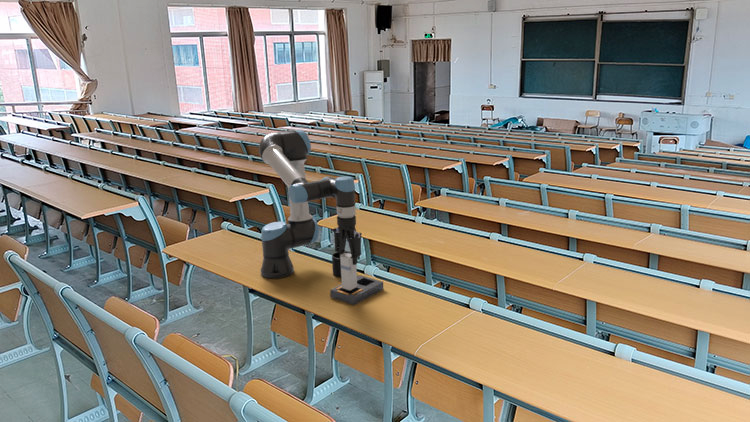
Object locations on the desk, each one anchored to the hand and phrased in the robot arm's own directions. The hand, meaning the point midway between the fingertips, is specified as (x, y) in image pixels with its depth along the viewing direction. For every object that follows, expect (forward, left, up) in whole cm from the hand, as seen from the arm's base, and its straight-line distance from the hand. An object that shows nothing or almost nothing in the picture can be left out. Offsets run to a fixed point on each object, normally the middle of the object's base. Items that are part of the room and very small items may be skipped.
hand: (348, 269), depth 226 cm
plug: (0, 0, -8) cm, 8 cm away
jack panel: (0, +5, -12) cm, 13 cm away
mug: (-19, +17, -12) cm, 28 cm away
